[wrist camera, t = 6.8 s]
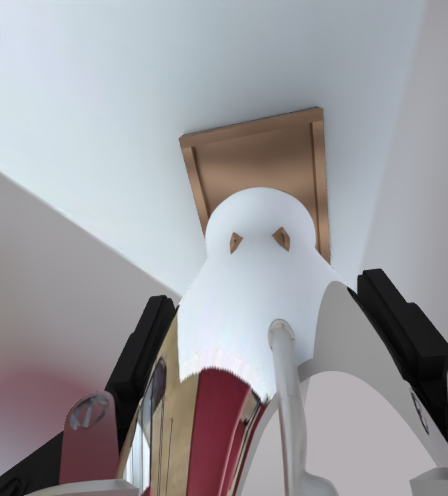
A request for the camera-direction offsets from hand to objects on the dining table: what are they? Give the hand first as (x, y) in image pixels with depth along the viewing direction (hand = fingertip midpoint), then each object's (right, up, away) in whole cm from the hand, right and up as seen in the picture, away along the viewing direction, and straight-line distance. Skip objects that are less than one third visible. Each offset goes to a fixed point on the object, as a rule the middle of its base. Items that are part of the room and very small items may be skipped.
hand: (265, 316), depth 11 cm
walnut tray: (+3, +8, +24) cm, 26 cm away
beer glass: (0, +3, +6) cm, 7 cm away
